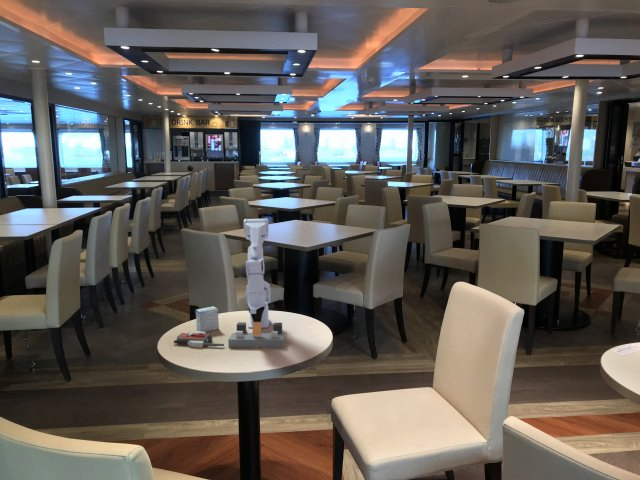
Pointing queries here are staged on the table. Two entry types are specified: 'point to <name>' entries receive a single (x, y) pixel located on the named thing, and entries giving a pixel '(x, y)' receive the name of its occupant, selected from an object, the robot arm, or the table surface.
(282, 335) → the power strip
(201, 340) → the walkie-talkie
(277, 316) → the table surface
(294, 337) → the table surface
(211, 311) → the medicine box
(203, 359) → the table surface
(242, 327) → the plug
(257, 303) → the robot arm
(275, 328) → the plug
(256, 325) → the orange rectangular block
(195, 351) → the table surface
